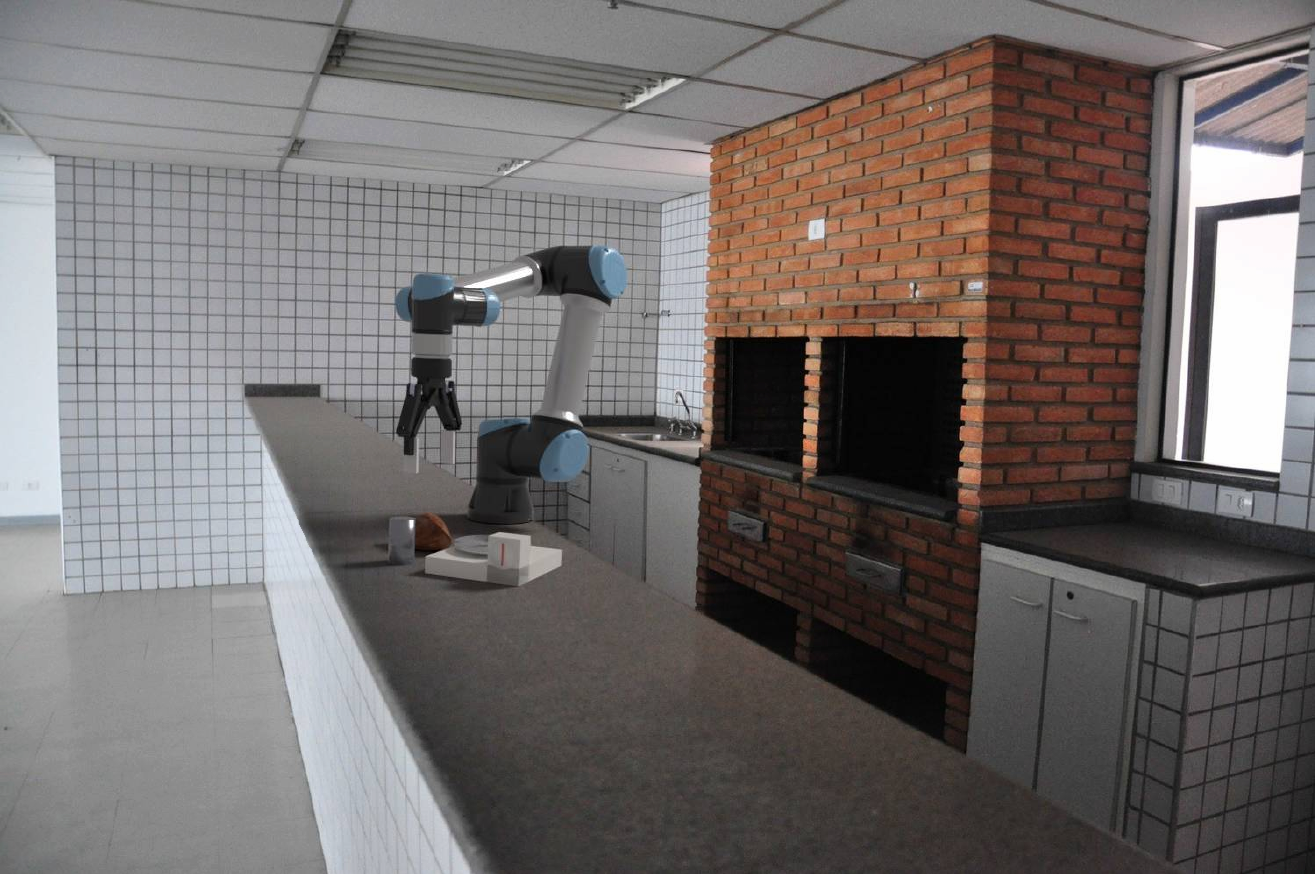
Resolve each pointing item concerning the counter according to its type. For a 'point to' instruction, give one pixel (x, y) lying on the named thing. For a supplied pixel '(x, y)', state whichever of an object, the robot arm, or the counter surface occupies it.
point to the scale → (497, 561)
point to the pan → (473, 544)
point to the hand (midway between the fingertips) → (429, 467)
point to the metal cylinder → (401, 540)
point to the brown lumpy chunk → (431, 533)
